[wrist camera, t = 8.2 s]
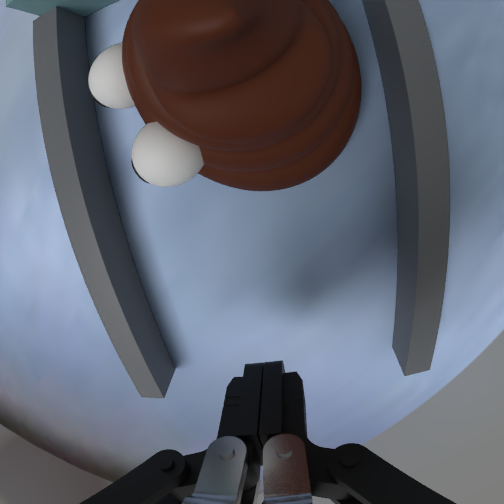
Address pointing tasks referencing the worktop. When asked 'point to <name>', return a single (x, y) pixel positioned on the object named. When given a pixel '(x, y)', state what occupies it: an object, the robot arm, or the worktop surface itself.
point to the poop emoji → (233, 90)
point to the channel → (108, 219)
